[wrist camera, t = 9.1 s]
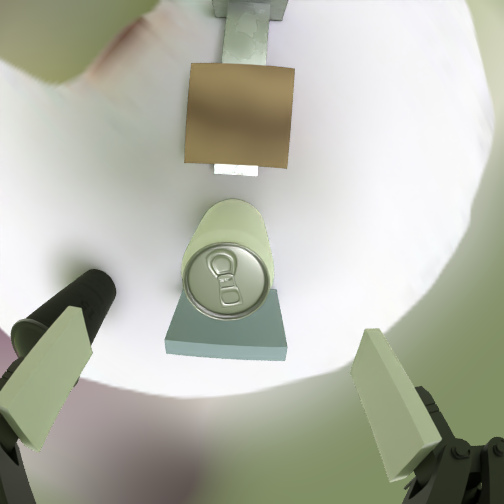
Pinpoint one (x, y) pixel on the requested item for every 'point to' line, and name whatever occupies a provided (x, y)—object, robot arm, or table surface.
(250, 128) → the tan wooden block
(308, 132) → the table surface
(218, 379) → the table surface
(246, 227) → the can
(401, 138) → the table surface
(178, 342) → the end plate
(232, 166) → the shaft
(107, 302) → the drinking cup
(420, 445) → the robot arm
